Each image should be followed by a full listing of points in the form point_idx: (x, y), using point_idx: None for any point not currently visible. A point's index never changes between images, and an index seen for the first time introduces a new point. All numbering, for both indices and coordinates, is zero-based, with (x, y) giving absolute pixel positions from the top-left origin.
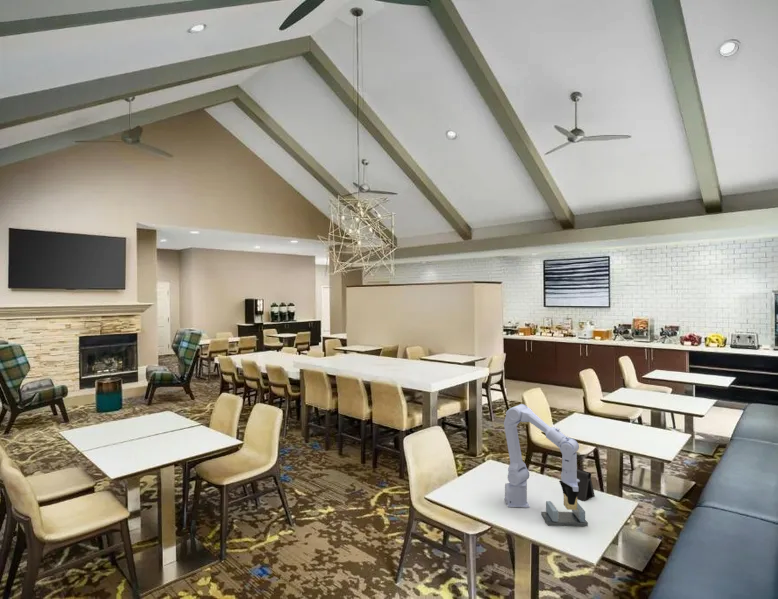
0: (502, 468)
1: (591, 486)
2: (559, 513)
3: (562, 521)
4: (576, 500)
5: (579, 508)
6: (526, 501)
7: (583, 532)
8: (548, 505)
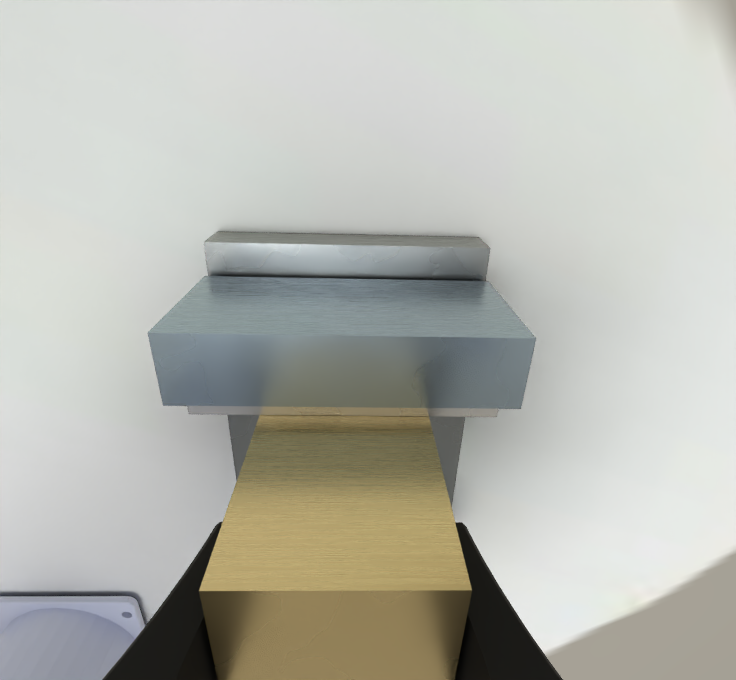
0: None
1: None
2: None
3: None
4: (454, 543)
5: (416, 383)
6: (81, 638)
7: (587, 331)
8: None
